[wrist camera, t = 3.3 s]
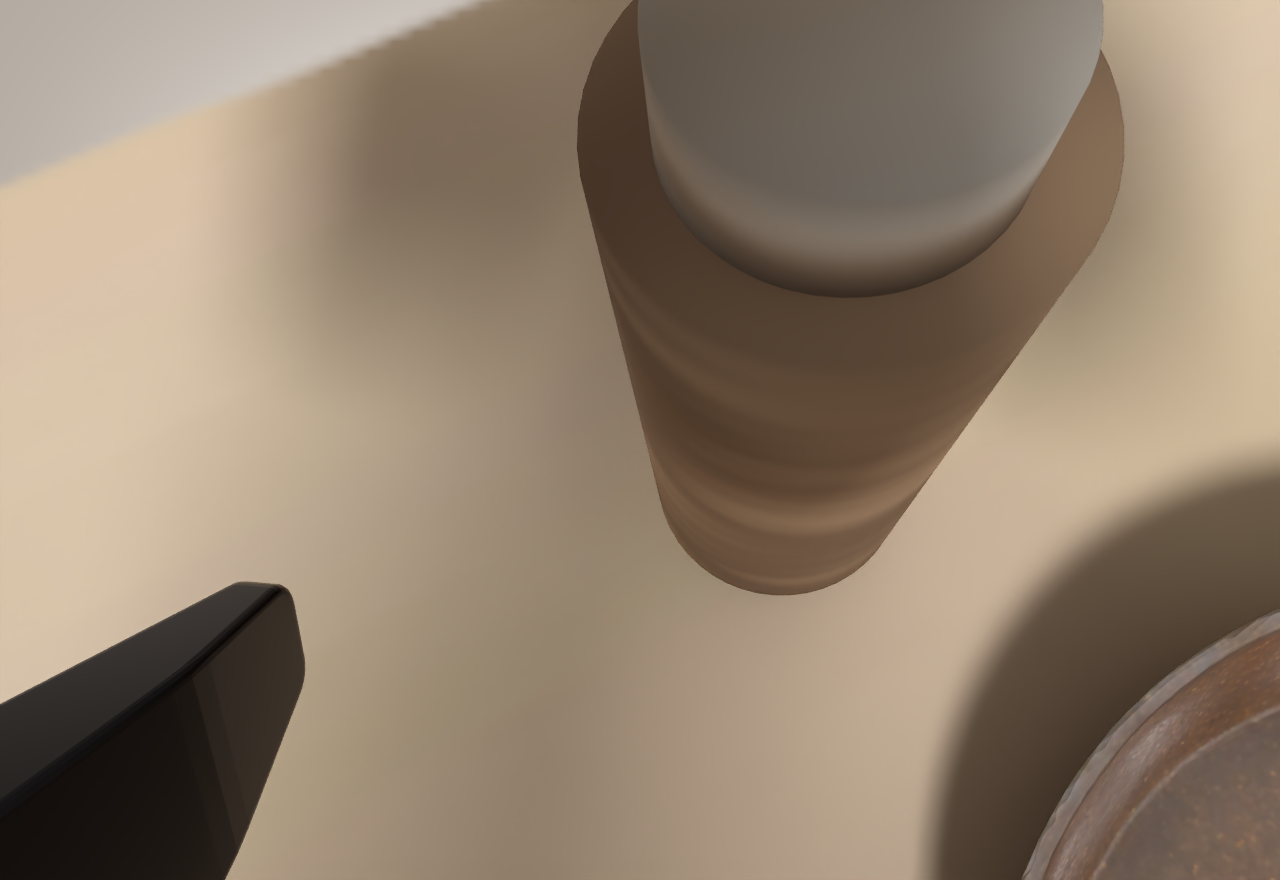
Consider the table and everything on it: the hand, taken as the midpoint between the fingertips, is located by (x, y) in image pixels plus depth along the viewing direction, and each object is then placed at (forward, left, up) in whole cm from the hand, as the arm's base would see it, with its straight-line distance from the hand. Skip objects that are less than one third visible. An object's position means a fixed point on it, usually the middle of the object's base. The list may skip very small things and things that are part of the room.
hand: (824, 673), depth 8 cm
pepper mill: (+4, -4, -12) cm, 13 cm away
